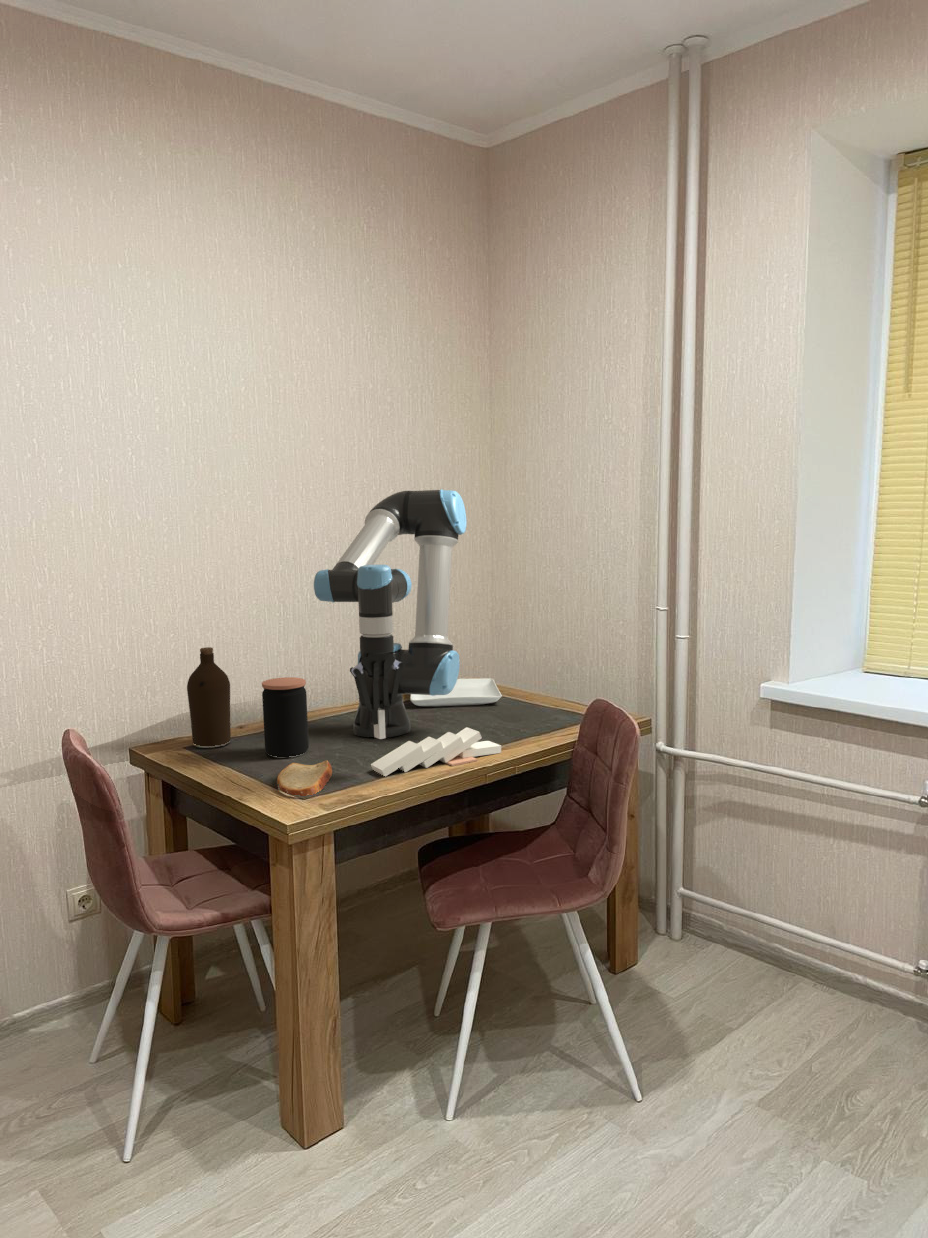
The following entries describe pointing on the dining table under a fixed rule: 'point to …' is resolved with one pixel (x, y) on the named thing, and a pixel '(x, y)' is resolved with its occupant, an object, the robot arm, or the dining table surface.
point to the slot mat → (460, 760)
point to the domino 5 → (481, 749)
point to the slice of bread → (304, 778)
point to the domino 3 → (448, 743)
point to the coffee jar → (285, 716)
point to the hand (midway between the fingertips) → (379, 737)
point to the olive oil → (209, 702)
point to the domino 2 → (429, 749)
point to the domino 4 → (468, 739)
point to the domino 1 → (397, 758)
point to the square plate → (462, 694)
